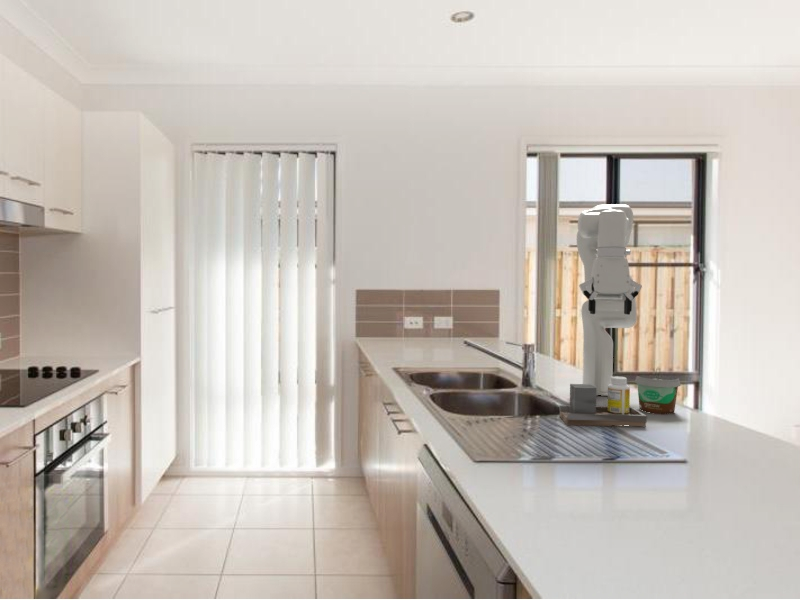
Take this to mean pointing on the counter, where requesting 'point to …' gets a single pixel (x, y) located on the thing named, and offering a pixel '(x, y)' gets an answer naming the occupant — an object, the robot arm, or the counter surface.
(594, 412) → the wooden tray
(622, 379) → the supplement bottle
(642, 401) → the food container
